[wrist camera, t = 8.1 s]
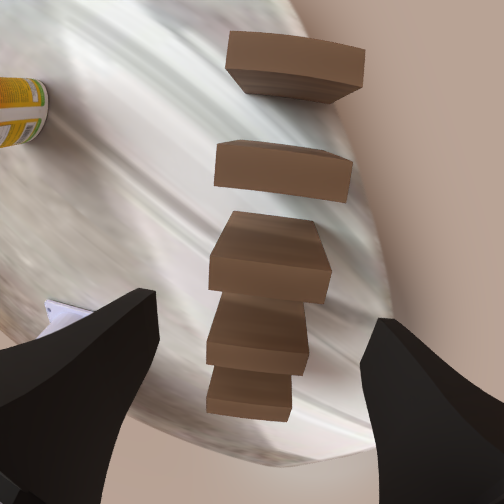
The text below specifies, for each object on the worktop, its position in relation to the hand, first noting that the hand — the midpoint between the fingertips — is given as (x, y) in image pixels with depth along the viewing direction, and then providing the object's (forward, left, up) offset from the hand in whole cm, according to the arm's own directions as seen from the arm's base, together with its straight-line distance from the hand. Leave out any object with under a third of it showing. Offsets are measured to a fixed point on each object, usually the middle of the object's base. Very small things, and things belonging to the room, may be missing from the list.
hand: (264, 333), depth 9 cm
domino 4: (-4, 0, -10) cm, 11 cm away
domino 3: (0, 0, -10) cm, 10 cm away
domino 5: (-9, 0, -10) cm, 14 cm away
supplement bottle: (+8, +20, -11) cm, 24 cm away
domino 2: (+5, 0, -10) cm, 11 cm away
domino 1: (+9, 0, -10) cm, 14 cm away
